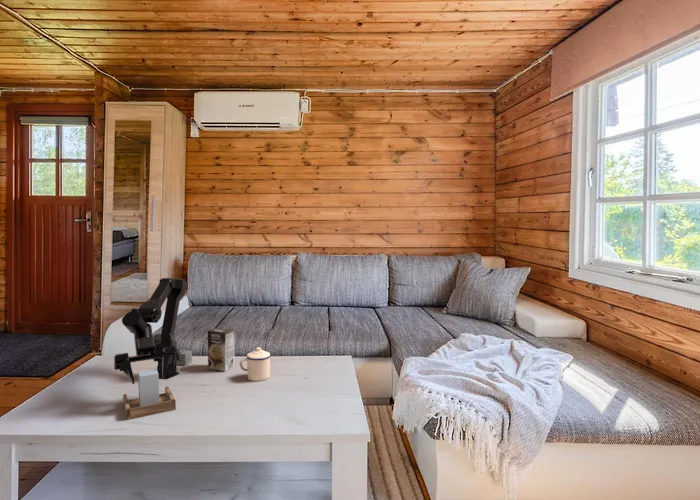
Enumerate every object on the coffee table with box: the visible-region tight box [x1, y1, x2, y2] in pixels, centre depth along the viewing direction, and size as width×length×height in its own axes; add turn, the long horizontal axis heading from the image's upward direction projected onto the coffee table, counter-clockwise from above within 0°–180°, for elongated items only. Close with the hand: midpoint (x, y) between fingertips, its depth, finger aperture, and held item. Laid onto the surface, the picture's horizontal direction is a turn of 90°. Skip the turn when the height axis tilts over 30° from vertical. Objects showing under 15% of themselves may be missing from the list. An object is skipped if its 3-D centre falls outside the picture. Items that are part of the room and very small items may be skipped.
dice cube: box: [176, 349, 193, 367], centre depth 184 cm, size 5×5×5 cm
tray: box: [122, 386, 177, 421], centre depth 141 cm, size 14×14×3 cm
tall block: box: [137, 368, 160, 406], centre depth 141 cm, size 5×6×10 cm
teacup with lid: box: [239, 347, 271, 382], centre depth 168 cm, size 12×9×12 cm
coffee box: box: [207, 327, 235, 373], centre depth 178 cm, size 9×6×16 cm
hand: (148, 380), depth 140 cm, fingers open, 9 cm apart
